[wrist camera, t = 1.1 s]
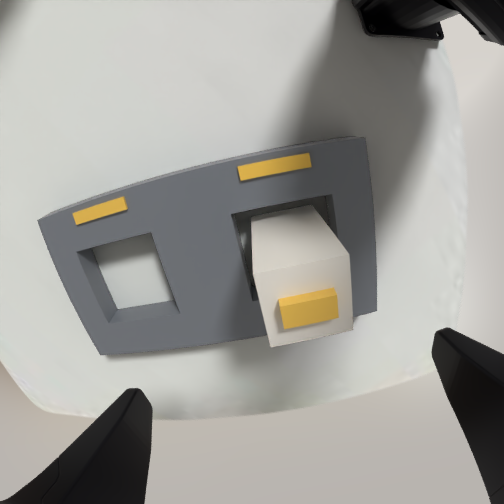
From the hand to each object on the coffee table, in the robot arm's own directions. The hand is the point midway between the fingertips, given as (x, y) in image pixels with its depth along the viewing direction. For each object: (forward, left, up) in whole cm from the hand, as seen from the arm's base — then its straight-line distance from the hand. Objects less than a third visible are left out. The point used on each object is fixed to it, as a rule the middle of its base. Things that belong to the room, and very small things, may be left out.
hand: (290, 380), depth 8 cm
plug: (-1, +1, -13) cm, 13 cm away
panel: (+4, +1, -13) cm, 14 cm away
